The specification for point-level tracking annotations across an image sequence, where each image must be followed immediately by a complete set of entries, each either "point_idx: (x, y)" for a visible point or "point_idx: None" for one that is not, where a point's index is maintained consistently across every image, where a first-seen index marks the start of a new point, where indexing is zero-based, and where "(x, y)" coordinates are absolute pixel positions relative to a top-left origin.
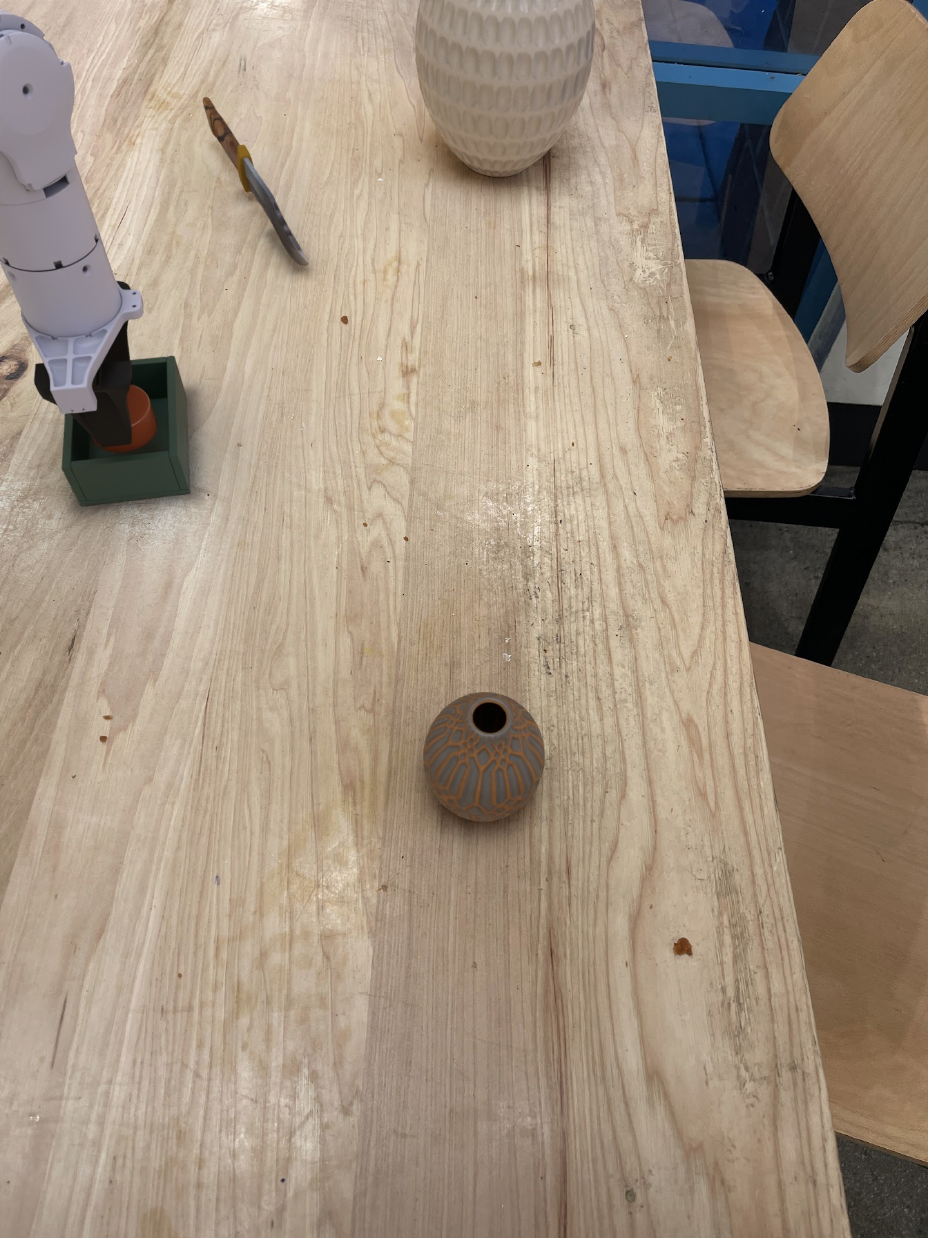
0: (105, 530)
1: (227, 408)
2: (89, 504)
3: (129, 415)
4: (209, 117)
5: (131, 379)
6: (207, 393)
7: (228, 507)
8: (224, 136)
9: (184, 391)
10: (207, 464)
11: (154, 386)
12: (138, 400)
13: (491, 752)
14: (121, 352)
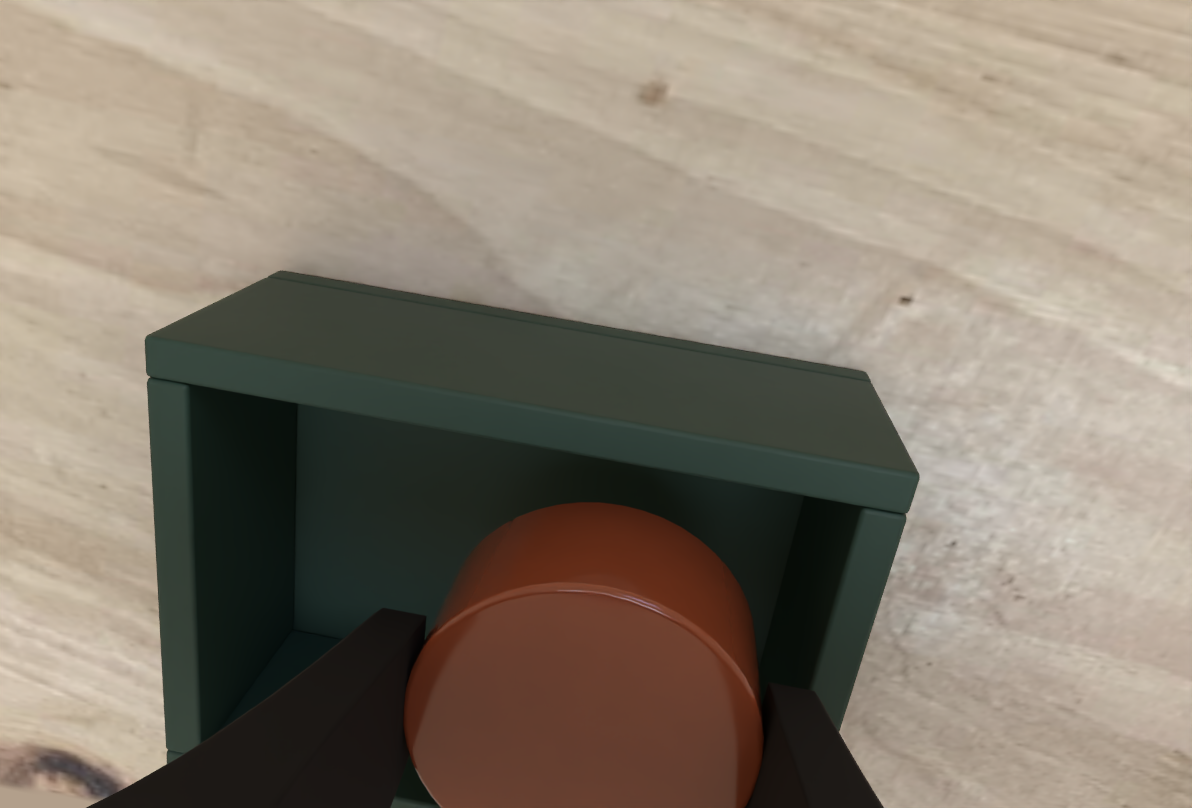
0: (914, 680)
1: (396, 101)
2: None
3: (828, 796)
4: None
5: (402, 646)
6: (282, 174)
7: (1019, 231)
8: None
9: (281, 282)
10: (723, 267)
11: (265, 418)
12: (569, 638)
13: None
14: (307, 790)
